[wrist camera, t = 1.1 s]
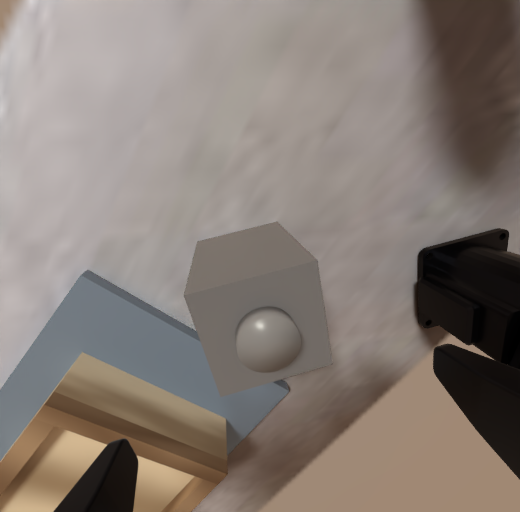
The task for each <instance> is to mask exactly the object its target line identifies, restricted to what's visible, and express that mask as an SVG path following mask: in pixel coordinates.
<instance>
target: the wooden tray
mask: <svg viewBox="0 0 520 512" xmlns="http://www.w3.org/2000/svg"><path fill="white" fill-rule="evenodd" d="M122 438H125V439H127V440H128V441H129V443H130V445H131V447H132V448H133V450H134V452H135V454H136V455H137V458H138V474H137V483H136V492H135V500H134V509H133V512H191V511H192V510H193V509H194V508H195V507H196V506H197V505H198V504H199V503H200V502H201V501H202V500H203V499H204V498H205V497H206V496H207V495H208V494H209V493H210V492H211V491H212V490H213V489H214V488H215V487H216V486H217V485H218V484H219V483H220V482H221V481H222V480H223V479H224V478H225V477H226V476H227V474H228V469H227V439H226V418H224V417H222V416H219V415H217V414H215V413H213V412H211V411H209V410H206V409H204V408H202V407H200V406H198V405H196V404H193V403H191V402H189V401H187V400H185V399H183V398H180V397H178V396H176V395H174V394H172V393H170V392H167V391H165V390H163V389H161V388H159V387H157V386H154V385H152V384H150V383H148V382H146V381H144V380H142V379H139V378H137V377H135V376H133V375H131V374H129V373H126V372H124V371H122V370H120V369H118V368H116V367H113V366H111V365H109V364H107V363H105V362H103V361H100V360H98V359H96V358H94V357H92V356H90V355H87V354H85V353H83V352H82V353H81V354H80V356H79V357H78V358H77V360H76V361H75V362H74V364H73V365H72V366H71V368H70V369H69V370H68V372H67V373H66V374H65V376H64V377H63V378H62V380H61V381H60V382H59V384H58V385H57V386H56V388H55V389H54V390H53V392H52V393H51V394H50V396H49V397H48V398H47V400H46V401H45V402H44V404H43V405H42V406H41V408H40V409H39V410H38V412H37V413H36V414H35V416H34V417H33V418H32V420H31V421H30V422H29V424H28V425H27V426H26V428H25V429H24V430H23V432H22V433H21V434H20V436H19V437H18V438H17V440H16V441H15V442H14V444H13V445H12V446H11V448H10V449H9V450H8V452H7V453H6V454H5V456H4V457H3V458H2V460H1V461H0V512H53V511H54V510H55V509H56V508H57V506H58V505H59V504H60V503H61V501H62V500H63V499H64V498H65V496H66V495H67V494H68V493H69V491H70V490H71V489H72V488H73V486H74V485H75V484H76V483H77V482H78V480H79V479H80V478H81V477H82V475H83V474H84V473H85V472H86V470H87V469H88V468H89V467H90V465H91V464H92V463H93V462H94V460H95V459H96V458H97V457H98V455H99V454H100V453H101V452H102V451H103V449H104V448H105V447H106V446H107V445H108V444H109V443H110V442H112V441H115V440H119V439H122Z"/></svg>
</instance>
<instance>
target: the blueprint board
mask: <svg viewBox="0 0 520 512" xmlns="http://www.w3.org/2000/svg"><path fill="white" fill-rule="evenodd" d="M82 352H83V353H85V354H87V355H90V356H92V357H94V358H96V359H98V360H100V361H103V362H105V363H107V364H109V365H111V366H113V367H116V368H118V369H120V370H122V371H124V372H126V373H129V374H131V375H133V376H135V377H137V378H139V379H142V380H144V381H146V382H148V383H150V384H152V385H154V386H157V387H159V388H161V389H163V390H165V391H167V392H170V393H172V394H174V395H176V396H178V397H180V398H183V399H185V400H187V401H189V402H191V403H193V404H196V405H198V406H200V407H202V408H204V409H206V410H209V411H211V412H213V413H215V414H217V415H219V416H222V417H224V418H226V439H227V455H228V454H229V453H230V452H231V451H232V450H233V449H234V448H235V447H236V446H237V445H238V444H239V443H240V442H241V441H242V440H243V439H244V438H245V437H246V436H247V435H248V434H249V433H250V432H251V431H252V430H253V428H254V427H255V426H256V425H257V424H258V423H259V422H260V421H261V420H262V419H263V418H264V417H265V416H266V415H267V414H268V413H269V412H270V411H271V410H272V409H273V408H274V407H275V406H276V405H277V404H278V403H279V401H280V400H281V399H282V398H283V397H284V396H285V395H286V394H287V393H288V392H289V389H288V386H287V383H286V382H284V381H282V380H277V381H274V382H271V383H267V384H264V385H260V386H257V387H254V388H250V389H247V390H243V391H240V392H237V393H233V394H230V395H226V396H223V397H220V394H219V391H218V389H217V386H216V383H215V380H214V378H213V375H212V372H211V369H210V367H209V364H208V361H207V358H206V356H205V353H204V350H203V347H202V344H201V342H200V339H199V336H198V333H197V332H196V331H194V330H192V329H191V328H189V327H187V326H185V325H184V324H182V323H180V322H178V321H177V320H175V319H173V318H171V317H170V316H168V315H166V314H164V313H163V312H161V311H159V310H157V309H156V308H154V307H152V306H150V305H148V304H147V303H145V302H143V301H141V300H140V299H138V298H136V297H134V296H133V295H131V294H129V293H127V292H126V291H124V290H122V289H120V288H119V287H117V286H115V285H113V284H112V283H110V282H108V281H106V280H104V279H103V278H101V277H99V276H97V275H96V274H94V273H92V272H90V271H89V270H87V271H85V272H84V273H83V274H82V275H81V276H80V277H79V278H78V280H77V281H76V283H75V284H74V286H73V287H72V288H71V290H70V291H69V293H68V294H67V296H66V297H65V298H64V300H63V301H62V303H61V304H60V306H59V307H58V308H57V310H56V311H55V313H54V314H53V316H52V317H51V318H50V320H49V321H48V323H47V324H46V326H45V327H44V328H43V330H42V331H41V333H40V334H39V335H38V337H37V338H36V340H35V341H34V343H33V344H32V345H31V347H30V348H29V350H28V351H27V353H26V354H25V355H24V357H23V358H22V360H21V361H20V363H19V364H18V365H17V367H16V368H15V370H14V371H13V373H12V374H11V375H10V377H9V378H8V380H7V381H6V383H5V384H4V385H3V387H2V388H1V390H0V461H1V460H2V458H3V457H4V456H5V454H6V453H7V452H8V450H9V449H10V448H11V446H12V445H13V444H14V442H15V441H16V440H17V438H18V437H19V436H20V434H21V433H22V432H23V430H24V429H25V428H26V426H27V425H28V424H29V422H30V421H31V420H32V418H33V417H34V416H35V414H36V413H37V412H38V410H39V409H40V408H41V406H42V405H43V404H44V402H45V401H46V400H47V398H48V397H49V396H50V394H51V393H52V392H53V390H54V389H55V388H56V386H57V385H58V384H59V382H60V381H61V380H62V378H63V377H64V376H65V374H66V373H67V372H68V370H69V369H70V368H71V366H72V365H73V364H74V362H75V361H76V360H77V358H78V357H79V356H80V354H81V353H82Z"/></svg>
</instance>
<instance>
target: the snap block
mask: <svg viewBox="0 0 520 512" xmlns="http://www.w3.org/2000/svg"><path fill="white" fill-rule="evenodd" d="M184 297H185V300H186V303H187V306H188V308H189V311H190V314H191V317H192V320H193V322H194V325H195V328H196V331H197V333H198V336H199V339H200V342H201V344H202V347H203V350H204V353H205V356H206V358H207V361H208V364H209V367H210V369H211V372H212V375H213V378H214V380H215V383H216V386H217V389H218V391H219V394H220V397H223V396H226V395H230V394H233V393H237V392H240V391H243V390H247V389H250V388H254V387H257V386H260V385H264V384H267V383H271V382H274V381H277V380H281V379H284V378H288V377H291V376H294V375H298V374H301V373H305V372H308V371H312V370H315V369H318V368H322V367H325V366H329V365H332V364H333V363H332V356H331V350H330V343H329V336H328V329H327V322H326V315H325V309H324V302H323V295H322V288H321V281H320V275H319V268H318V261H317V259H316V258H315V257H314V256H313V255H311V254H310V253H309V252H308V251H307V250H306V249H305V248H304V247H303V246H302V245H301V244H300V243H299V242H298V241H297V240H296V239H295V238H294V237H293V236H292V235H291V234H289V233H288V232H287V231H286V230H285V229H284V228H283V227H282V226H281V225H280V224H279V223H278V222H274V223H270V224H266V225H262V226H258V227H254V228H250V229H246V230H242V231H238V232H234V233H230V234H226V235H222V236H218V237H214V238H210V239H206V240H202V241H198V242H197V245H196V249H195V253H194V257H193V261H192V265H191V269H190V273H189V277H188V281H187V284H186V288H185V292H184Z"/></svg>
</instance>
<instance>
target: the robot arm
mask: <svg viewBox="0 0 520 512" xmlns="http://www.w3.org/2000/svg"><path fill="white" fill-rule="evenodd" d="M508 239H509V232H508V230H505V229H501V228H498V229H494V230H490V231H486V232H483V233H479V234H475V235H471V236H468V237H464V238H460V239H456V240H453V241H449V242H445V243H441V244H438V245H434V246H430V247H426V248H424V249H422V250H421V251H420V253H419V324H420V325H421V326H423V327H424V328H431V327H434V326H438V325H440V326H441V327H442V328H444V329H445V330H447V331H448V332H449V333H451V334H452V335H453V336H455V337H456V338H458V339H459V340H461V341H462V342H463V343H465V344H466V345H472V344H473V345H475V346H476V347H477V348H479V349H480V350H481V351H483V352H484V353H486V354H487V355H488V356H490V357H492V358H493V359H494V360H492V359H490V358H487V357H484V356H481V355H479V354H476V353H473V352H471V351H468V350H465V349H462V348H460V347H457V346H455V345H452V344H444V345H441V346H437V347H435V349H434V354H433V369H434V373H435V375H436V377H437V378H438V379H439V381H440V382H441V383H442V385H443V386H444V387H445V389H446V390H447V392H448V393H449V394H450V396H451V397H452V398H453V399H454V401H455V402H456V404H457V405H458V406H459V408H460V409H461V410H462V411H463V413H464V414H465V416H466V417H467V418H468V420H469V421H470V422H471V424H472V425H473V426H474V427H475V429H476V430H477V431H478V432H479V434H480V435H481V436H482V437H483V438H484V439H485V440H486V442H487V443H488V444H489V445H490V446H491V447H492V449H493V450H494V451H495V452H496V453H497V454H498V455H499V456H500V458H501V459H502V460H503V461H504V462H505V463H506V464H507V466H509V468H510V469H511V470H512V471H513V472H514V474H515V475H516V476H517V477H518V478H519V479H520V255H518V254H514V253H511V252H508V251H507V247H508ZM428 253H429V255H428V256H427V254H428ZM426 256H427V257H426ZM426 321H427V322H426ZM495 360H496V361H495ZM137 474H138V458H137V455H136V454H135V452H134V450H133V448H132V447H131V445H130V443H129V441H128V440H127V439H125V438H122V439H119V440H115V441H112V442H110V443H109V444H108V445H107V446H106V447H105V448H104V449H103V451H102V452H101V453H100V454H99V455H98V457H97V458H96V459H95V460H94V462H93V463H92V464H91V465H90V467H89V468H88V469H87V470H86V472H85V473H84V474H83V475H82V477H81V478H80V479H79V480H78V482H77V483H76V484H75V485H74V486H73V488H72V489H71V490H70V491H69V493H68V494H67V495H66V496H65V498H64V499H63V500H62V501H61V503H60V504H59V505H58V506H57V508H56V509H55V510H54V511H53V512H133V509H134V500H135V492H136V483H137Z"/></svg>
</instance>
